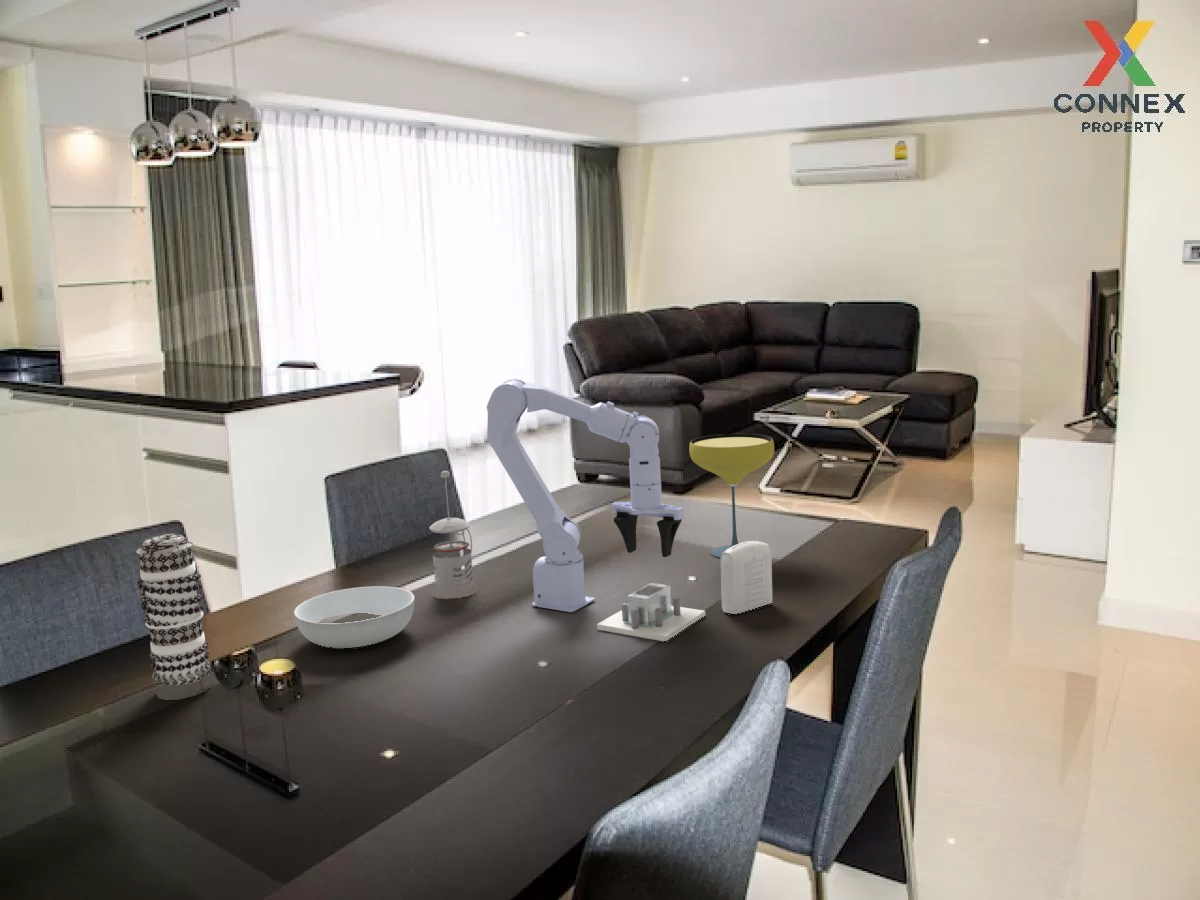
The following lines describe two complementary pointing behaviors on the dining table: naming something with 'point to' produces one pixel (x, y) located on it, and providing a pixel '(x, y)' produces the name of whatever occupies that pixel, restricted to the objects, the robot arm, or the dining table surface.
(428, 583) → the dining table surface
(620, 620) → the dock
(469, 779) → the dining table surface
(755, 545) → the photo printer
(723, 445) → the cocktail glass
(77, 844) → the dining table surface
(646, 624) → the block
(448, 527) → the french press
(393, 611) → the serving bowl
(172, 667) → the decorative candle
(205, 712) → the dining table surface
